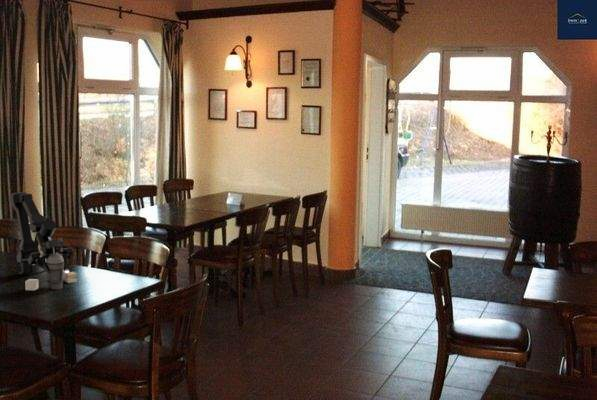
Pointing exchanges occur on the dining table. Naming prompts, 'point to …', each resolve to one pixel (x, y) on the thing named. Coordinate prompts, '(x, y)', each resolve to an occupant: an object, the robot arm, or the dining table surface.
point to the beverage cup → (55, 270)
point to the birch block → (70, 277)
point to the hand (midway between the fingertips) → (57, 271)
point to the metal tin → (64, 274)
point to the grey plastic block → (31, 284)
